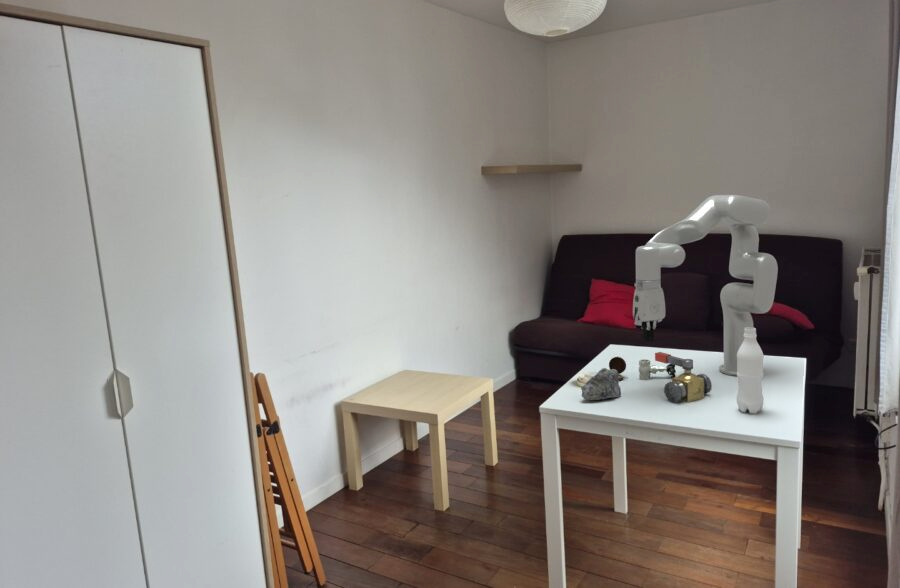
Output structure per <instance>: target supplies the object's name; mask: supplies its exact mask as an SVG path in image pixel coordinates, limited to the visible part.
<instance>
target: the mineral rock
mask: <svg viewBox="0 0 900 588" xmlns="http://www.w3.org/2000/svg"><path fill="white" fill-rule="evenodd" d="M618 376H619V375H618V372H617V370H615V369H611V370H610V369H607V368H606V367H603V368H601V369H600V370H598V372H597V373H596V374H595V375H594V376H592V377H591V378H590V379H589V380H588V381H586V383H585V384H584V385H582V386H581V387H580V390H581V397H582V398H583V399H584V400H590V401H592V400H593V401H600V400H605V399H609V398H610V399H611V398H619V397H621V395H622V392H621V390H622V389H621V386H620V385H619V382H620V381H619V378H618Z"/></svg>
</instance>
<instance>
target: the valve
mask: <svg viewBox="0 0 900 588" xmlns="http://www.w3.org/2000/svg"><path fill="white" fill-rule="evenodd" d="M638 366H639V367H638V373H639V375H638V376H639V379H640V380H642V381H647V380H648V381H649V380H650V379H651V378H652V377H651V374H652V375H653V374H655V375H656V374H657V372H659V373H664V372H665V371H666V373H667V374H668V375H669V376H671V377H670V378H671V379H672V378H675V377H676V373H677V371H676V365H673V364H669V363H667V366H665V367H664V366H659V367H658V366H656V364H655V365H654V364H653V365H651V360H650V359H644V358H642V359H640V360H639V361H638Z"/></svg>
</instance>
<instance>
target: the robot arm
mask: <svg viewBox="0 0 900 588" xmlns="http://www.w3.org/2000/svg"><path fill="white" fill-rule="evenodd" d="M770 217H771V207H770V205H769V204H768V202H767V201H765V200H763V199H759V198H755V197H749V196H746V195H745V196H744V195H739V194H715V195H711V196H709V197H707V198H705V199H704V200H703V201H702V202H701V203H699V205H698V206H697V207H696V208H695V209H694V210H693V211H691V212H690V213H689V215H687V216H686V217H685V218H684V219H683V220H680V221H678V222H676V223H674V224H672V225H670V226H667V227H665V228H663V229H662V230H660V231H659V232H657V233H656V234H655V235H653V237H651V238H650V240H648V241H647V242H646V243H645V245H641V246H637V247H636V249H635V282H634V287H635V289H634V293H633V300H632V317H633V318H632V319H634V323H633V324H634V325H636V326H640V328H641V329H642V341H643V342H647V343H652V342H653V343H654V342H655V329H656V327H657V325H658V323H660V322H662V321H663V319H665V317H666V300H665V293H664V290H663V288H662V286H661V276H662V275H661V271H662V270H661V268H677V267H678V266H681V265H682V264H683V263H684V261H685V259H686V252H685V250H684V247H683V246H681V245H684V244H689V243H690V244H691V243H694V242H696V241H700V240H702V239H704V238H705V237H706V236H707V235H708V234H709V233H710V231H712V230H713V229H714V228H715V227H716V226H717V225H718V224H719V223H720V222H723V223H724V224H725V225H726V226H727V228H728V229H729V231H730V234H731V248H730V254H729V265H728V272H729V274H730V275H731V277H733V278H735V279H739V280H749V281H753V283H752V284H751V283H747V282H746V283H745V282H730V283H727V284H726V285H724V286H723V287H722V288H721V291H720V295H719V297H720V303H721V308H722V315H723V316H722V317H723V364H721V365H720V366H719V367H718V370H719V372H720V373H722V374H725V375H728V376H729V375H730V376H737V352H738V350H739V348H740V346H741V345H742V343H743V341H744V333H745V332H744V331H745V328H747V327H753V328H754V320H753V316H752V314H766V313H768V312H769V311H770V310H771V308H772V307H773V304H774V300H775V294H776V286H777V280H778V273H779V271H778V270H779V267H778V262H777V260H776V258H775V257H774V255H772V254H770V253H766V252H759V246H760V245H759V242H760V237H759V233H758V230H757V228H756V227H757V226H759V227H760V226H763V225H765V224H766V223H767V222H768V221H769V220H770ZM751 313H752V314H751Z"/></svg>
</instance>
